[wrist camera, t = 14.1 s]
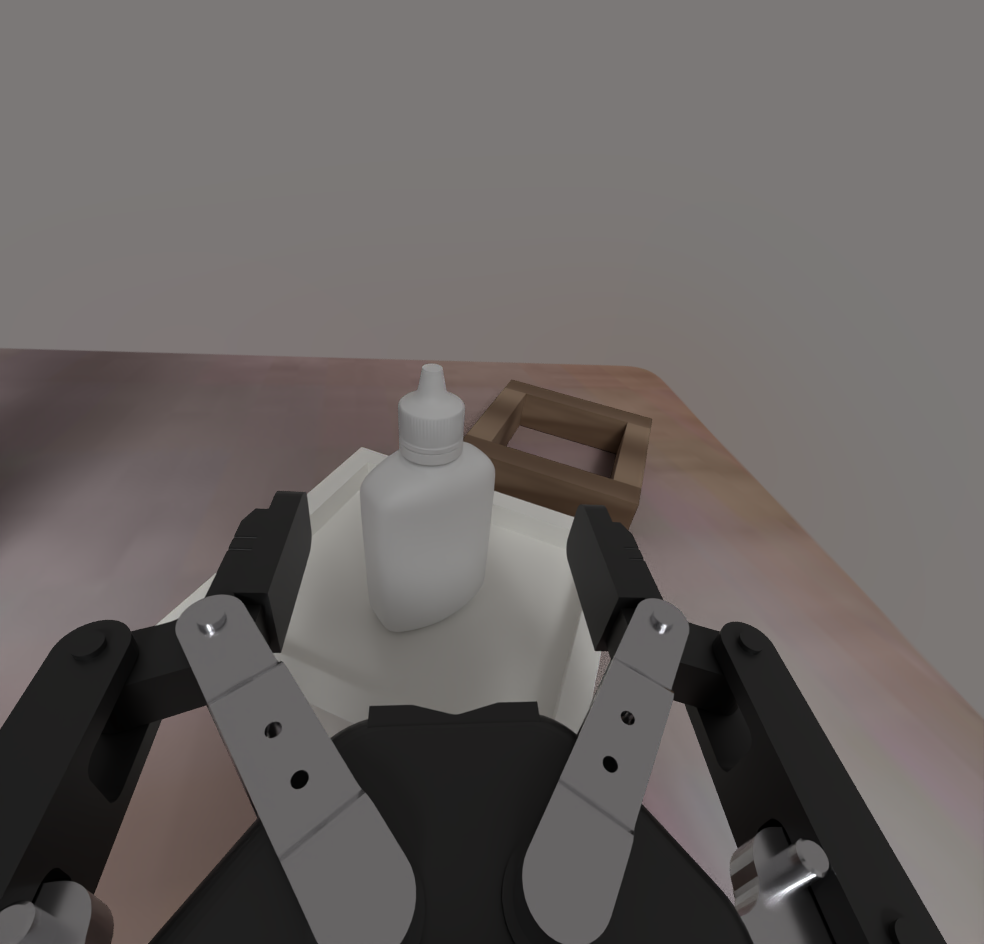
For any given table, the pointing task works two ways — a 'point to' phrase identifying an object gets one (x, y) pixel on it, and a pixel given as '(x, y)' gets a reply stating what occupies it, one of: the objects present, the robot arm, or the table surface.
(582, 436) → the walnut holder
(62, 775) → the robot arm
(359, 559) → the tray
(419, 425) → the eye dropper bottle
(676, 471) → the table surface
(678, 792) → the table surface
